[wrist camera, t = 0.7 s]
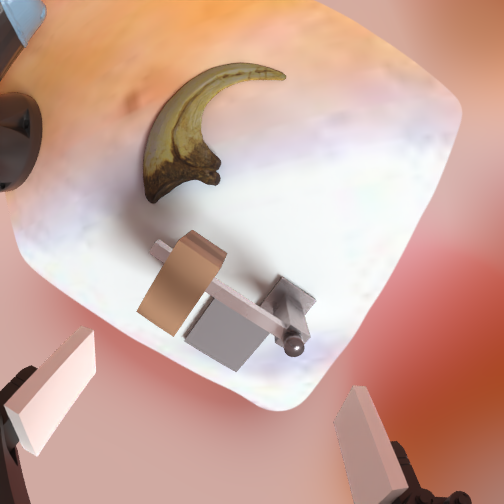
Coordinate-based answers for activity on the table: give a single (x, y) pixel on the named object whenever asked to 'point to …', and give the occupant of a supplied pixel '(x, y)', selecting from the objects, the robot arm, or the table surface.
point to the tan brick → (181, 281)
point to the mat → (226, 335)
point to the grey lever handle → (264, 307)
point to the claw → (190, 131)
